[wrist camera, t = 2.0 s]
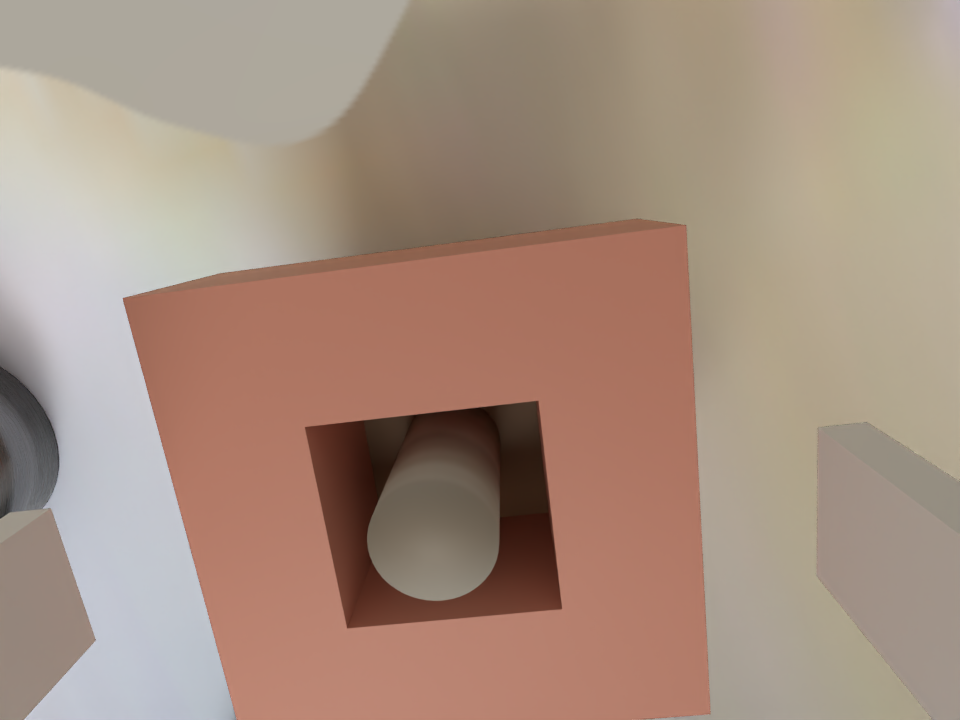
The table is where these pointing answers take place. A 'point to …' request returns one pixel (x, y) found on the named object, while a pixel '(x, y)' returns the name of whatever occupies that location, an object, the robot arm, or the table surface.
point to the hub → (24, 449)
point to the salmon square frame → (426, 389)
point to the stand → (450, 493)
